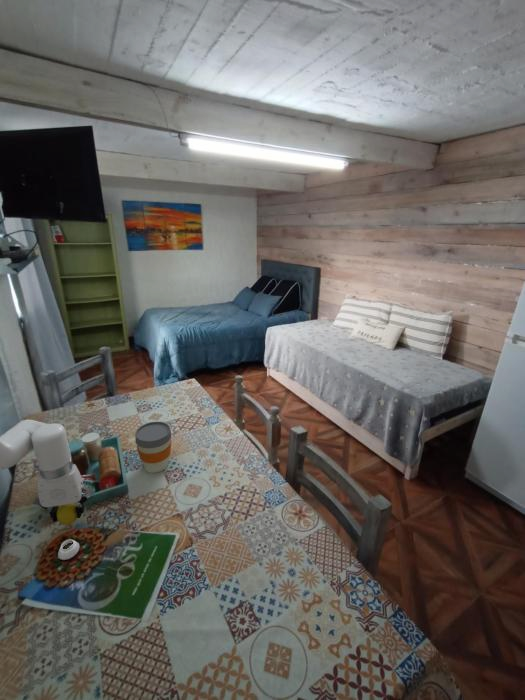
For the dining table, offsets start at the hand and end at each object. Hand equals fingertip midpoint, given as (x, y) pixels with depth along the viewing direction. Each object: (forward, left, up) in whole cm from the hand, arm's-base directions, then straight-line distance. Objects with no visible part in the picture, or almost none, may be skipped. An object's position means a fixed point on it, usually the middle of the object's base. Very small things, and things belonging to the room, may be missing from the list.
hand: (68, 515), depth 93 cm
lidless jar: (+2, -9, -4) cm, 10 cm away
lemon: (0, 0, -3) cm, 3 cm away
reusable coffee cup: (+23, +22, -4) cm, 32 cm away
